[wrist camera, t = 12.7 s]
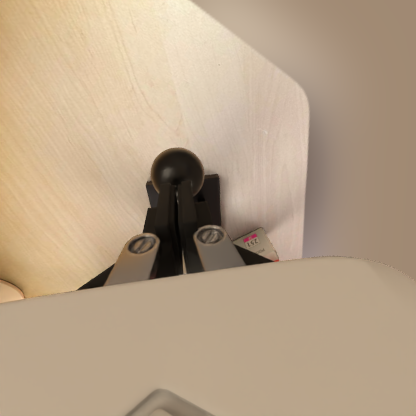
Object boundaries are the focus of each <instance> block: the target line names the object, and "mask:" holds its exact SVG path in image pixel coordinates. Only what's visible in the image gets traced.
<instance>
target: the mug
mask: <svg viewBox="0 0 416 416" xmlns="http://www.w3.org/2000/svg"><path fill="white" fill-rule="evenodd" d="M21 299H24V295H23V293H22V291H21V290H20V289H19V288H18V287H16V286H14V285H13V284H11V283H8V282H6V281H3V280H0V303H4V302H9V301H15V300H21Z"/></svg>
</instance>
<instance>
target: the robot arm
mask: <svg viewBox="0 0 416 416" xmlns="http://www.w3.org/2000/svg"><path fill="white" fill-rule="evenodd" d="M183 255H184V261H185V267H186V273H187V274H186V275H183ZM179 275H180V276H179ZM0 416H416V281H415V280H413V279H412V278H410V277H408V276H407V275H406V274H404V273H402V272H401V271H399V270H397V269H395V268H393V267H391V266H388V265H386V264H383V263H380V262H376V261H372V260H368V259H361V258H354V257H341V256H325V257H324V256H323V257H311V258H301V259H292V260H284V261H277V262H274V261H272V260H270V259H268V258H265V257H263V256H261V255H258V254H256V253H254V252H252V251H249V250H247V249H245V248H242V247H240V246H238V245H236V244H233V242H232V241H231V239H230V237H229V236H228V234H227V232H226V231H225V230H224V229H223V228H222V227H220V226H216V225H213V221H212V217H211V213H210V210H209V206H208V202H207V201H204V202H195V203H194V199H193V192H192V186H191V181H184V182H181V184H180V185H178V202H177V195H176V189H175V185H171V183H166V184H161V185H160V191H159V198H158V204H157V207H153V208H148V211H147V215H146V220H145V224H144V229H143V233H142V234H139V235H136V236H134V237H132V238H131V239H130V240H129V241H128V242H127V243H126V244H125V246H124V248H123V250H122V252H121V254H120V255H119V257H118V259H117V261H116V263H115V264H113V265H112V266H111V267H109V268H108V269H106V270H105V271H103V272H102V273H101V274H99V275H98V276H96V277H95V278H93V279H92V280H90V281H89V282H88V283H86V284H85V285H83V286H82V287H80V288H79V289H78V290H76V291H71V292H64V293H58V294H51V295H44V296H38V297H32V298H26V299H21V300H15V301H9V302H4V303H0Z"/></svg>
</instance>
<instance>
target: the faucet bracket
mask: <svg viewBox="0 0 416 416" xmlns="http://www.w3.org/2000/svg"><path fill="white" fill-rule="evenodd" d="M146 189H147V193H148V197H149V201H150V205H151V208H153V207H157V204H158V198H159V193H158V192H157V191H156V189H155V188H154V186H153V184H152V181H148V182H147V183H146ZM193 199H194V203H195V202H204V201H207V202H208V206H209V210H210V213H211V217H212V221H213V225H216V226H220V227H221V214H220V184H219V176H218V174H212V175H204V182H203V185H202V187H201V189H200V191H199V192H198V193H197V194H196V195H195V196H193Z"/></svg>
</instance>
